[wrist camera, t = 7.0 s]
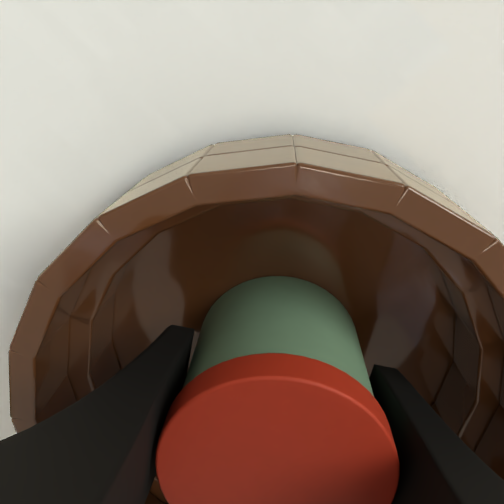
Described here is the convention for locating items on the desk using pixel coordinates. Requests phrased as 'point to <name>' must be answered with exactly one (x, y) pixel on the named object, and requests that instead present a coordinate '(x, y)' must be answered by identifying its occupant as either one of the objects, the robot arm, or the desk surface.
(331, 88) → the desk surface
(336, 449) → the container
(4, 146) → the desk surface
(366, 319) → the bowl
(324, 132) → the desk surface
